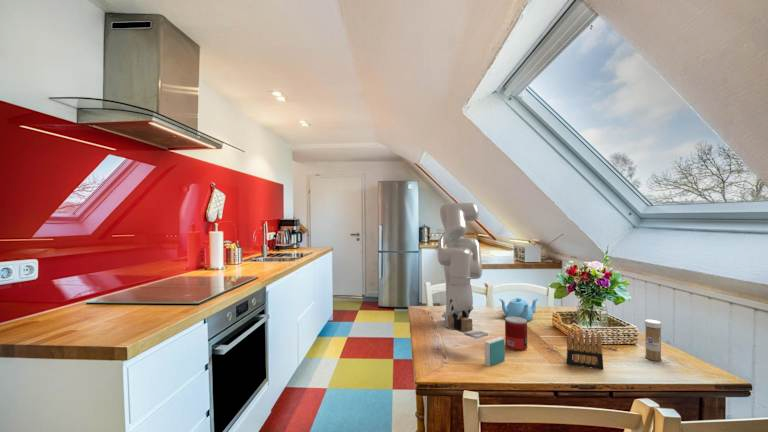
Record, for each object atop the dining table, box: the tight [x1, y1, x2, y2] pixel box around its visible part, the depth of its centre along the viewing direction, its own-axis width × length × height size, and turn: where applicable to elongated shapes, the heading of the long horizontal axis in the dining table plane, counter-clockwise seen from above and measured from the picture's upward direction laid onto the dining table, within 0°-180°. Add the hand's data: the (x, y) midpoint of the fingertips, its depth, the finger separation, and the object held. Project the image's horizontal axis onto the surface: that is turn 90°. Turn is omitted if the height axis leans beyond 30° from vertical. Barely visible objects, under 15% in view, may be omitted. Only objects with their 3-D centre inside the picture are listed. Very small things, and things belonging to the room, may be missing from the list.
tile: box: [484, 336, 506, 367], centre depth 117 cm, size 2×8×8 cm, turn 123°
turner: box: [447, 315, 489, 340], centre depth 128 cm, size 16×6×5 cm, turn 33°
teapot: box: [498, 297, 539, 322], centre depth 167 cm, size 15×15×10 cm
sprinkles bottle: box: [644, 319, 662, 362], centre depth 119 cm, size 5×5×14 cm
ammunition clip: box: [566, 329, 604, 370], centre depth 114 cm, size 11×2×12 cm, turn 69°
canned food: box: [504, 316, 528, 352], centre depth 130 cm, size 8×8×11 cm
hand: (460, 327), depth 130 cm, fingers closed on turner, 3 cm apart
